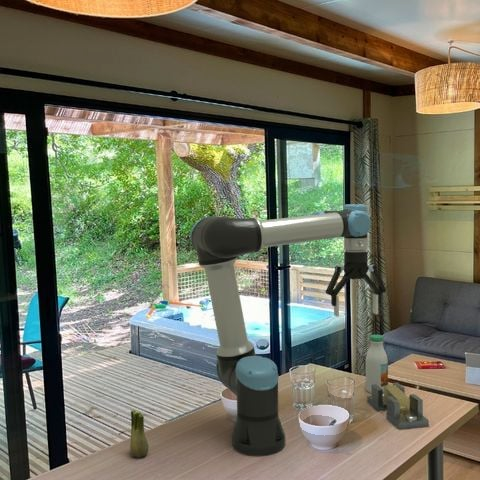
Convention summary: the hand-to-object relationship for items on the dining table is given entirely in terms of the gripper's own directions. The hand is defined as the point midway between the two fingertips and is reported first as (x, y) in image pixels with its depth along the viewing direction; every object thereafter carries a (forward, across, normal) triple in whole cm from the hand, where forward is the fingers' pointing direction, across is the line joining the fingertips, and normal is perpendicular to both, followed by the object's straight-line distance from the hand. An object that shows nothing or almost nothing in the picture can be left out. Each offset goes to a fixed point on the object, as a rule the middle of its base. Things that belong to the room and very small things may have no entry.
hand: (356, 314), depth 170 cm
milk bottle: (+30, +12, +9) cm, 34 cm away
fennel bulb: (+31, -71, -21) cm, 80 cm away
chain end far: (+30, +9, -4) cm, 31 cm away
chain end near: (+30, +9, -18) cm, 36 cm away
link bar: (+28, +9, -11) cm, 31 cm away
